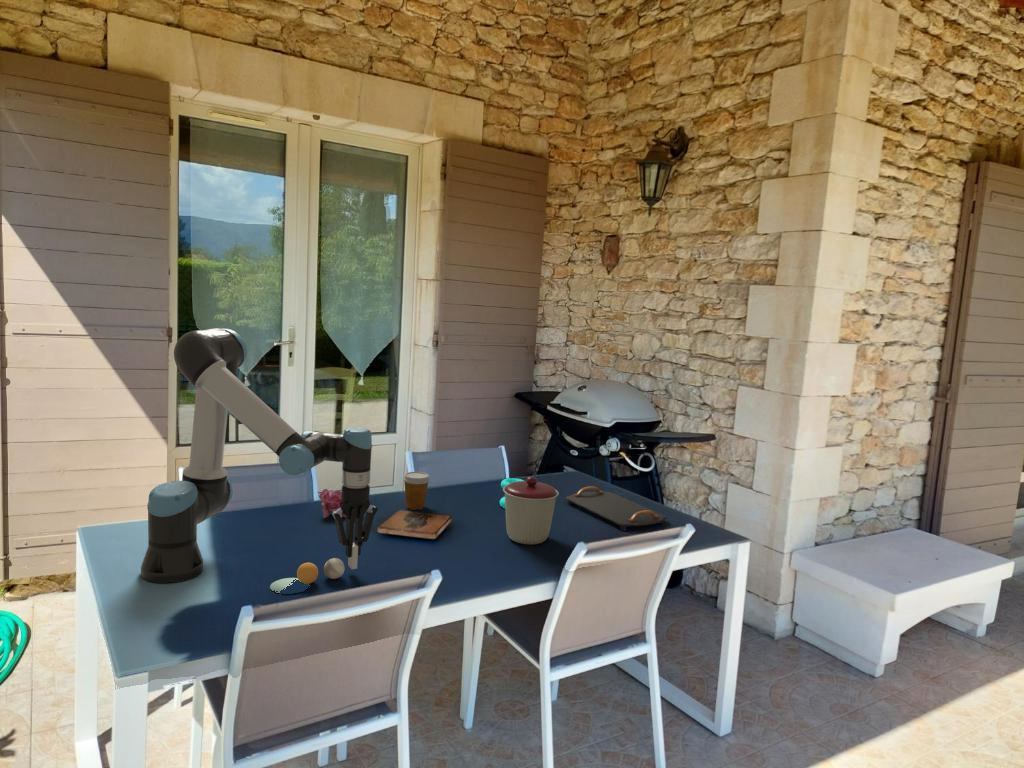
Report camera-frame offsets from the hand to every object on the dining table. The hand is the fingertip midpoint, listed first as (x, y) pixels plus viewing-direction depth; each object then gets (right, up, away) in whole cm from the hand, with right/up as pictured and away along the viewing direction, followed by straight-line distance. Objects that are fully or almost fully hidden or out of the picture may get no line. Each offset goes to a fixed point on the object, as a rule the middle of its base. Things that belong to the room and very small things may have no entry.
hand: (352, 567), depth 197 cm
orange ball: (-10, 0, -8) cm, 13 cm away
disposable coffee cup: (+9, +6, +61) cm, 62 cm away
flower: (-17, +6, +46) cm, 50 cm away
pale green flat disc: (-14, -2, -10) cm, 18 cm away
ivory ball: (-4, +1, -4) cm, 6 cm away
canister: (+49, 0, +36) cm, 61 cm away
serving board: (+82, +2, +70) cm, 108 cm away
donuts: (+44, +5, +69) cm, 82 cm away
